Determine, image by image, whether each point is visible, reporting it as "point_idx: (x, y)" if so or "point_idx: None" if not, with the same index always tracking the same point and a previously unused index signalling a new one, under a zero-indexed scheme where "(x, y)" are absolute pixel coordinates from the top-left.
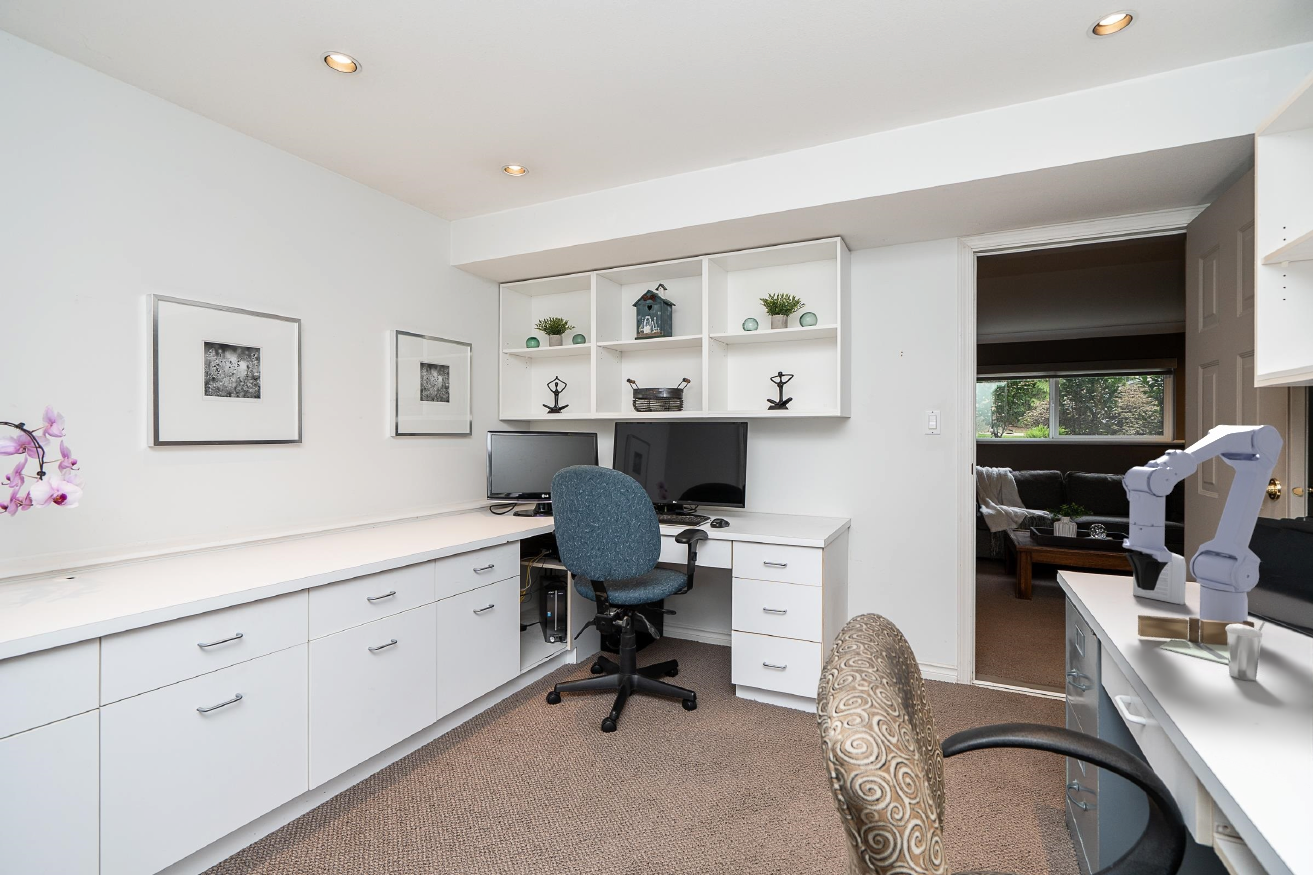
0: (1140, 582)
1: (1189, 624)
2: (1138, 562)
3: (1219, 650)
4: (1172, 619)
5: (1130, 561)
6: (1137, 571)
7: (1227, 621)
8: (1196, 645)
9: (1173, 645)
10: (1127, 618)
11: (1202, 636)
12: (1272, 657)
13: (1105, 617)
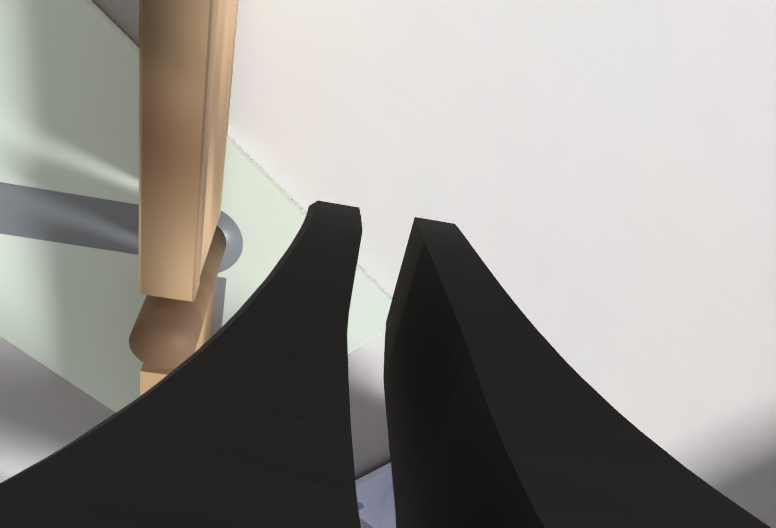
0: (324, 238)
1: None
2: (63, 484)
3: (54, 267)
4: (140, 196)
5: (633, 490)
6: (462, 379)
7: None
8: (114, 203)
9: (69, 51)
10: (705, 167)
11: None
12: (52, 425)
13: (771, 11)
